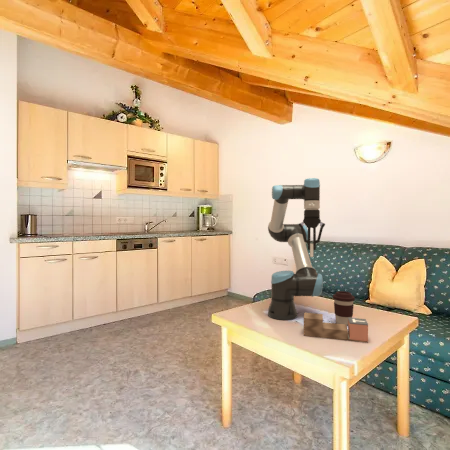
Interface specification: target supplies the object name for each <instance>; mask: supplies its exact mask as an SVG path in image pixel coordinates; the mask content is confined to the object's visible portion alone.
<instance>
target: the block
mask: <svg viewBox="0 0 450 450" xmlns="http://www.w3.org/2000/svg"><path fill="white" fill-rule="evenodd" d="M347 329H348V335H349V339H351V340H360V341H368V342H369V323H368V322H367V320H366V318H359V317H358V318H357V317H352V318H348V325H347Z"/></svg>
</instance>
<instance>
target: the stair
mask: <svg viewBox="0 0 450 450" xmlns="http://www.w3.org/2000/svg"><path fill="white" fill-rule="evenodd" d="M303 336H304V337H312V338H322V339H329V340H330V339H331V340H338V341H339V340H340V341H349V342H356V343H367V344H368V342H369V340H368V341H360V340H351V339H349V335H348V325H346V324H337V323H333V322H324V314H322V313H312V312H304V313H303Z"/></svg>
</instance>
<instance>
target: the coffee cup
mask: <svg viewBox="0 0 450 450" xmlns="http://www.w3.org/2000/svg"><path fill="white" fill-rule="evenodd" d="M332 299H333V300H334V302H333V308H334V316H335V322H336V324H346V325H347V326H348V318H353V315H354V301H355V300H356V296H354V295H353V294H352V293H351V292H349V291H342V290H341V291H340V290H339V291H336V292H335V293H334V294H333V295H332Z"/></svg>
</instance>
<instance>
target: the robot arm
mask: <svg viewBox="0 0 450 450" xmlns="http://www.w3.org/2000/svg"><path fill="white" fill-rule="evenodd" d="M320 182H321V181H320V179H319V178H317V177H312V178H311V177H308V178H305V179H304V180H303V184H277V185H276V184H275V185H273V186H272V188H271V198H272V200H273V206H272V211H271V219H270V221H269V223H268V225H267V231H268V234H269V236H270V237H271V238H272V239H273V240H275V241H276V242H279V243H287V244H288V246H289V247H291V252H292V255H293V259H294V263H295V268H296V271H295V272H294V270H279V271H276V272H273V273H272V275H271V280H270V283H271V285H270V287H271V292H270V293H271V294H270V295H271V301H270V304H269V307H268V311H267V314H268V315H267V316H268V317H270V318H272V319H273V320H274V319H275V320H279V321H280V320H283V321H289V320H290V321H291V320H295V319H297V318H298V310H297V307H296V304H295V299H294V298H295V297H319V296H321V294H322V292H323V288H324V287H323V286H324V285H323V284H324V283H323V282H324V280H323V275H322V274H321V273H318V272H317V270H316V268H314V267H313V265H312V263H311V258H314V251H316V250H317V249H316V248H317V244H319V243H320V241H321V237H322V233H323V229H324V227H325V226H326V223H324V222H322V220H321V216H320V215H321V213H320V212H321V210H320V208H321V205H320V203H321V202H320V200H321V195H320V193H321V192H320V191H321V189H320V188H321V183H320ZM289 200H303V209H304V211H303V220H302V222H300V223H291V224H290V223H284V221H285V218H286V217H285V216H286V213H287V208H288V204H289ZM318 226H320V227H319V232H318V235H316V234H317V231H316V228H317V227H318ZM311 228H312V239H313V240H312V243H311ZM308 251H310V252H308Z"/></svg>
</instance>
